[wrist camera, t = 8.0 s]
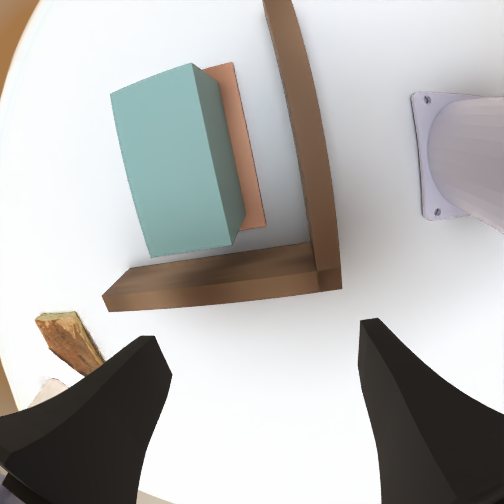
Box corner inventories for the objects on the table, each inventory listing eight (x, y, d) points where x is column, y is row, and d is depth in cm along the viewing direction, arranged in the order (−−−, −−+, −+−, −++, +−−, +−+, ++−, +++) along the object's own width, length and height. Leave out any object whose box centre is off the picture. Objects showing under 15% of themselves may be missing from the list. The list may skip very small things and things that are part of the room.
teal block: (246, 214, 17) (231, 245, 12) (183, 225, 18) (150, 257, 13) (218, 82, 14) (191, 62, 10) (154, 101, 15) (110, 94, 10)
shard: (128, 390, 27) (122, 402, 25) (82, 384, 28) (75, 393, 26) (80, 308, 23) (70, 318, 21) (37, 310, 24) (28, 319, 22)
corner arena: (285, 10, 12) (284, -20, 8) (331, 257, 18) (342, 288, 14) (83, 78, 15) (45, 73, 11) (135, 282, 20) (109, 312, 16)
